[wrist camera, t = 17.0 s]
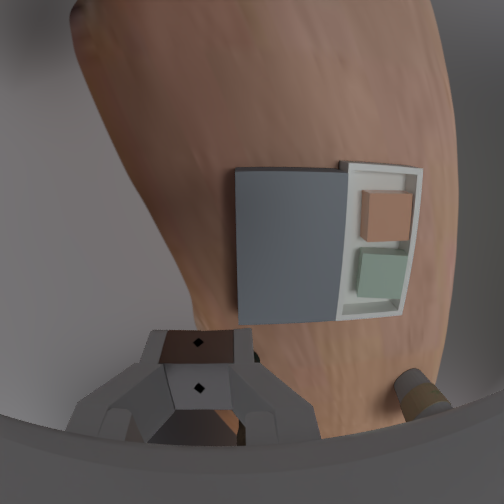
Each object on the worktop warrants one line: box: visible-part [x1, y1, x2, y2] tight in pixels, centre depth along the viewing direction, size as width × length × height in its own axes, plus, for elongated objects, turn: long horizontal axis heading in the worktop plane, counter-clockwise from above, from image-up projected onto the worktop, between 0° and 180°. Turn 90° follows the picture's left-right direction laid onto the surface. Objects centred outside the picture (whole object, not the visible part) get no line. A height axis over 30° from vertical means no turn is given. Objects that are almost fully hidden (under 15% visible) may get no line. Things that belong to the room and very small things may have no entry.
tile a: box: [360, 190, 413, 242], centre depth 38 cm, size 6×6×2 cm
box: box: [336, 161, 423, 321], centre depth 39 cm, size 20×10×4 cm, turn 1°
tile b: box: [355, 247, 408, 299], centre depth 40 cm, size 6×6×2 cm
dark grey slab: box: [235, 167, 348, 325], centre depth 38 cm, size 18×12×5 cm, turn 1°
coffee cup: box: [394, 369, 453, 422], centre depth 43 cm, size 9×9×15 cm
